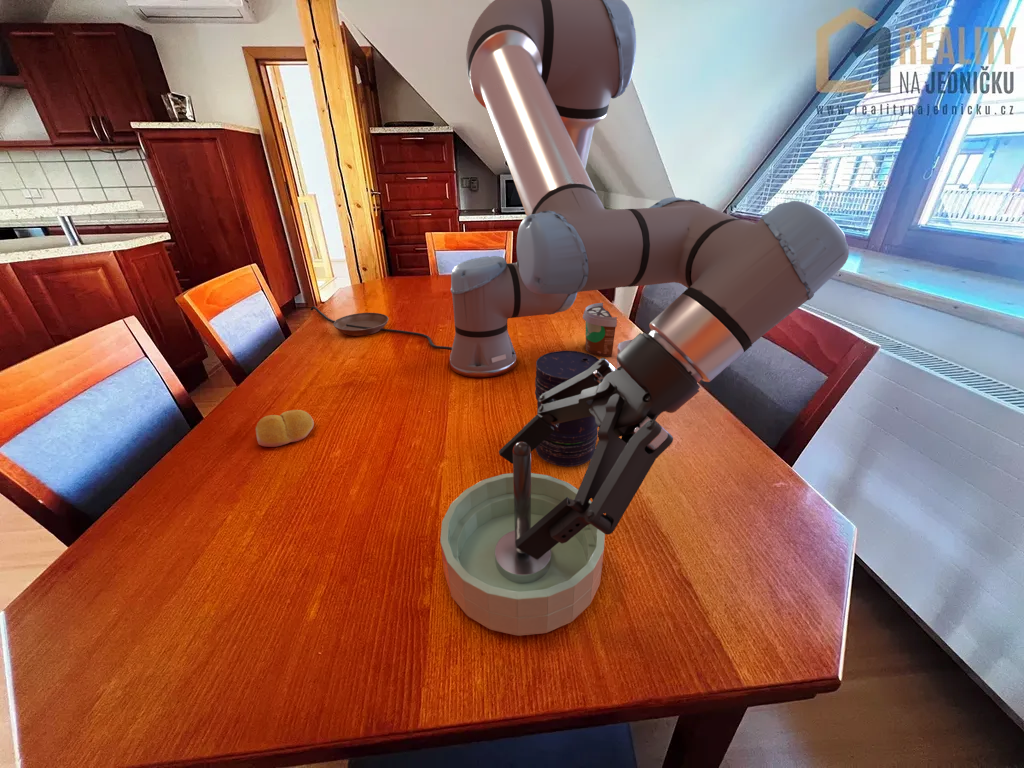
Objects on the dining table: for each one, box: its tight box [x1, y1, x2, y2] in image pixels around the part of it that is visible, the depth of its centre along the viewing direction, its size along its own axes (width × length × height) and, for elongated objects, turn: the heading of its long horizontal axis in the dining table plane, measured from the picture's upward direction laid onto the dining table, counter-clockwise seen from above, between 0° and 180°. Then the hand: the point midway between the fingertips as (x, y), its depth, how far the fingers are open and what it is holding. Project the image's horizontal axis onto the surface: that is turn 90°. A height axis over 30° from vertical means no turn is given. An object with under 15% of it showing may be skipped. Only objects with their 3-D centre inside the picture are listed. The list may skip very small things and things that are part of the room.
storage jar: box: [534, 350, 600, 467], centre depth 65 cm, size 10×10×15 cm
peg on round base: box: [495, 442, 551, 583], centre depth 45 cm, size 6×6×16 cm
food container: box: [582, 302, 618, 357], centre depth 102 cm, size 12×6×10 cm, turn 5°
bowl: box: [439, 472, 606, 637], centre depth 47 cm, size 18×18×6 cm
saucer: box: [332, 312, 390, 337], centre depth 119 cm, size 15×15×3 cm
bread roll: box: [255, 409, 315, 448], centre depth 73 cm, size 8×9×4 cm
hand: (515, 498), depth 44 cm, fingers open, 13 cm apart
